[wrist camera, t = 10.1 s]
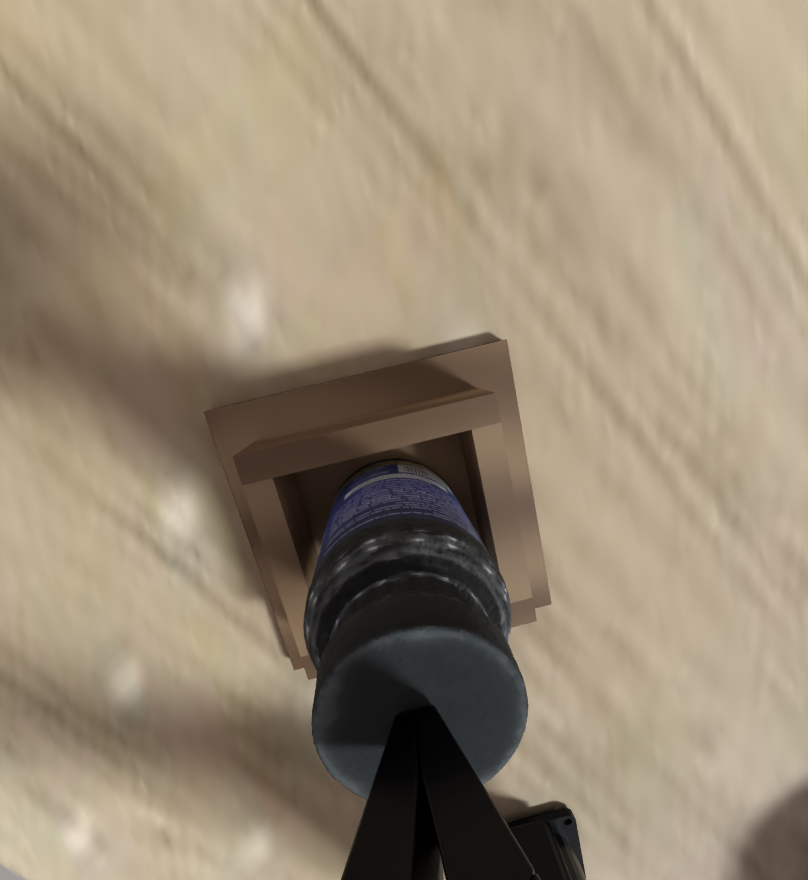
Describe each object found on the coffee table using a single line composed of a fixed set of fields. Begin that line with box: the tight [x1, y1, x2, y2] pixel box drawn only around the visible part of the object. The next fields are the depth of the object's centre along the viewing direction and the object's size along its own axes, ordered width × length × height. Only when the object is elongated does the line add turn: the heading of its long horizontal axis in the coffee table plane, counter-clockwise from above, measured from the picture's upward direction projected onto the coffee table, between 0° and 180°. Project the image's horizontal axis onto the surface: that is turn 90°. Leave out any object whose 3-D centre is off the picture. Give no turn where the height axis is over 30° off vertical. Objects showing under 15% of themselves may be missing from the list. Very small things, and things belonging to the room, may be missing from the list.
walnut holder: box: [204, 340, 551, 680], centre depth 18 cm, size 14×14×4 cm
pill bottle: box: [303, 458, 528, 799], centre depth 13 cm, size 6×6×11 cm
